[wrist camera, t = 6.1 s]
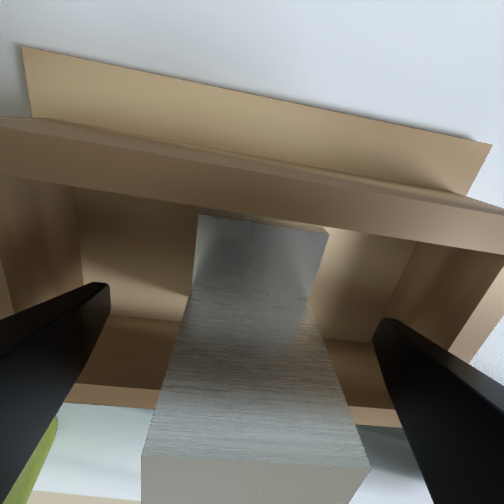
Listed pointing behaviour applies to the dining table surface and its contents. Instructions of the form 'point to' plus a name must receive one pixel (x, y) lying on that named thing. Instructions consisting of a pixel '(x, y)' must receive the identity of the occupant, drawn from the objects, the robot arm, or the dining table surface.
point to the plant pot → (32, 468)
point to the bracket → (252, 378)
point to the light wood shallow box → (241, 201)
